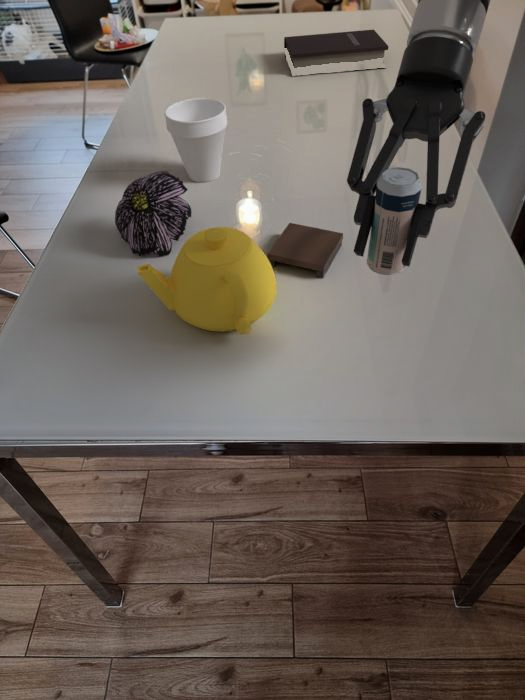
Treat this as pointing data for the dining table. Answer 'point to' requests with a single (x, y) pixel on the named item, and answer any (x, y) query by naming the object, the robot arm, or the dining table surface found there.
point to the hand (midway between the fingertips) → (381, 258)
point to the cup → (198, 135)
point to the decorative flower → (152, 213)
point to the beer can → (392, 219)
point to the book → (335, 47)
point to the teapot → (217, 281)
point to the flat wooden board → (306, 248)
